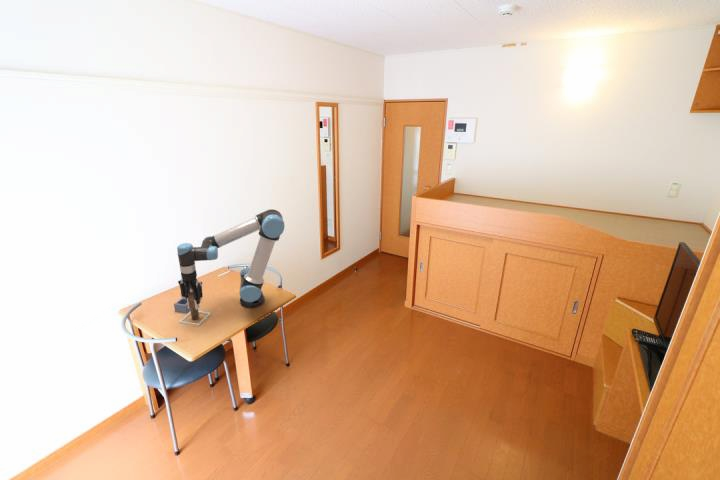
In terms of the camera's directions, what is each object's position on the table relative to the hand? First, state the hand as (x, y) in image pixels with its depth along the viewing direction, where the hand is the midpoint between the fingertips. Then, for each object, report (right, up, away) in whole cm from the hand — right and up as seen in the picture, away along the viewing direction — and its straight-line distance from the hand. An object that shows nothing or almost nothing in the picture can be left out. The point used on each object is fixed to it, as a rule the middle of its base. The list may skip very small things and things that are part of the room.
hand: (194, 307), depth 190 cm
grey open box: (-11, -4, +11) cm, 16 cm away
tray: (0, -7, +3) cm, 8 cm away
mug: (-12, 0, +21) cm, 24 cm away
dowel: (0, -6, +2) cm, 6 cm away
